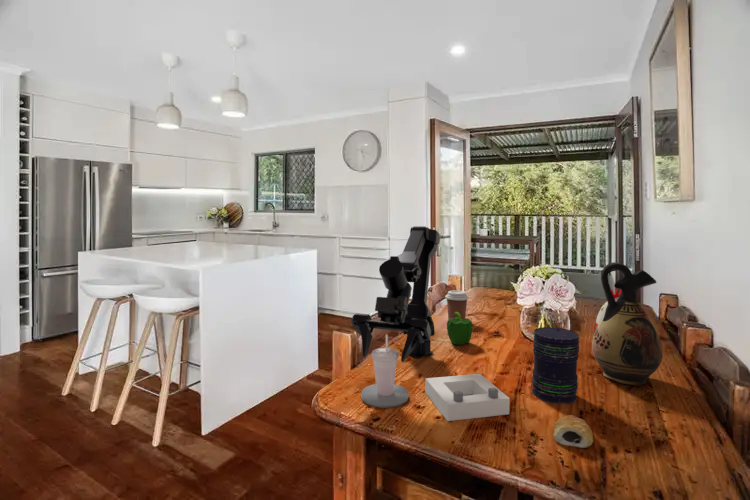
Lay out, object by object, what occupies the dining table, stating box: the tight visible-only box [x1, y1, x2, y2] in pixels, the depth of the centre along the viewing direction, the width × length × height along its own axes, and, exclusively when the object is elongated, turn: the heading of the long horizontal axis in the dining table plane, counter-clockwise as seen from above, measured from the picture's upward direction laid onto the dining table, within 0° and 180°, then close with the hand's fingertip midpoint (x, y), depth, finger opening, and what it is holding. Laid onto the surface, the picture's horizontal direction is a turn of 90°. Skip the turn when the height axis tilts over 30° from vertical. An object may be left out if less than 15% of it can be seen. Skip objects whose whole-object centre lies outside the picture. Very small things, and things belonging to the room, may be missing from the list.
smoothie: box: [370, 333, 400, 396], centre depth 96 cm, size 6×6×14 cm
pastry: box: [552, 414, 594, 449], centre depth 80 cm, size 9×7×4 cm
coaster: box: [360, 383, 409, 409], centre depth 97 cm, size 11×11×1 cm
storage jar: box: [531, 326, 580, 405], centre depth 97 cm, size 10×10×15 cm
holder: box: [424, 373, 511, 422], centre depth 94 cm, size 14×14×5 cm
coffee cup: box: [444, 289, 470, 321], centre depth 163 cm, size 9×9×12 cm
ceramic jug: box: [591, 261, 664, 387], centre depth 107 cm, size 17×15×30 cm
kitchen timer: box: [595, 288, 622, 328], centre depth 153 cm, size 14×14×15 cm
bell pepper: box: [446, 312, 474, 346], centre depth 137 cm, size 8×8×10 cm
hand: (382, 359), depth 95 cm, fingers open, 9 cm apart
